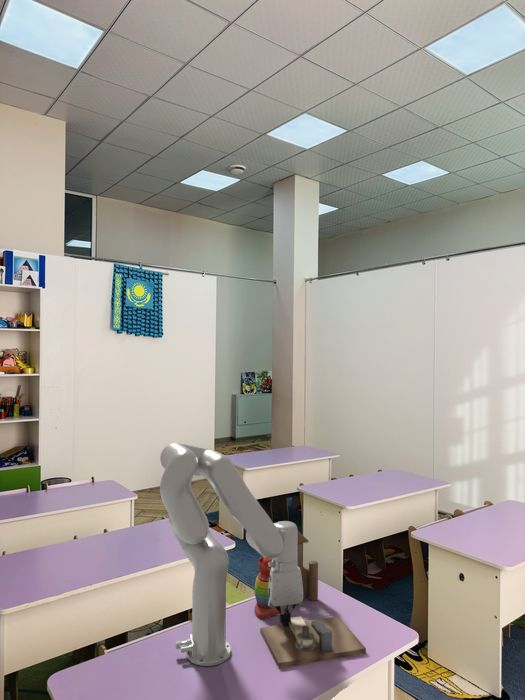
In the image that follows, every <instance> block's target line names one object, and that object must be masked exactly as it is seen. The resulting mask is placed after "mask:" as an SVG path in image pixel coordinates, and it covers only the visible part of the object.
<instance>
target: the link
mask: <svg viewBox="0 0 525 700" xmlns="http://www.w3.org/2000/svg"><path fill="white" fill-rule="evenodd" d="M304 621H305V620H304V619H303V617H302V616H301V615H300V616H293V617H292V616H291V622H289V626H290V628H291V630H292V632H293V634H294V636H295V638H296V640H297V645H298V646H299V647H301V648H311V647H314V635H313V634H312V633H310V631H309V627H308V626H306V624H305V622H304Z"/></svg>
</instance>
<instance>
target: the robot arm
mask: <svg viewBox="0 0 525 700" xmlns="http://www.w3.org/2000/svg"><path fill="white" fill-rule="evenodd" d="M159 461H160V464H161V466H162V468H163V469H164V472H163V474H162V476H161V479H160V485H159V495H160V498H161V500H162V503H163V506H164V508H165V510H166V512H167V514H168V524H169V527H170V529H171V531H172V533H173V534H174V537H175V538H176V540H177V542H178V544H179V546H180V547H181V549H182V552H183V553H184V555H185V556H186V558H187V559H188V561H189V562H190V563H191V565H192V566H193V570H194V576H193V581H192V589H191V590H192V593H191V596H192V597H191V598H192V604H191V609H192V612H191V613H192V615H191V616H192V617H191V619H192V620H191V621H192V622H191V631H192V632H191V634H189V638H186V639H185V640H178V641H175V642H174V643H175V644H174V647H175V650H180V653H186V658H187V660H188V661H189V662H191V664H194V665H196V666H201V667H213V666H216V665H221V664H222V663H224V662H226V661H227V660H228V659H229V658H230V657H231V654H232V647H231V645H230V643H229V642H228V641H227V640H226V639H227V636H226V635H227V634H226V633H227V631H226V630H227V629H226V628H227V626H226V625H227V623H226V622H227V614H226V613H227V596H226V595H227V579H228V570H229V555H228V552H227V550H226V548H225V547H224V546H223V545H222V543H220V542H219V540H217V539H216V538H215V537H214V536H213V535H212V532H210V525H209V520H208V517H207V515H206V514H205V512H204V511H203V509H202V507H201V505H200V504H199V501H198V500H197V498H196V495H195V494H194V491H193V489H192V480H193V478H194V476H195V477H196V476H197V477H203V478H205V479H206V480H207V481H208V483H209V484H210V486H211V487H212V489H213V490H214V492H215V493H216V495H217V496H218V499H220V501H221V503H222V505H223V506H224V507H225V510H227V512H228V513H229V514H230V515H231V516H232V517H233V518H234V519H235V520H236V522H237V523H239V525H241V527H243V529H244V530H245V531H246V532H245V538H246V539H245V540H246V541H247V543H248V545H250V547H251V548H252V549H254V551H257V553H258V554H260V555H261V556H262V557H265V558H268V559H272V561H271V562H268V565H269V567H272V568H271V571H270V576H269V585H268V598H269V602H268V606H269V608H276V609H277V610H278V611H279V612H280V615H279V622H280V624H281V625H283V626H284V627H286V626H287V627H289V622H291V617H292V615H291V614H292V613H293V610H294V609H295V607H296V606H298V605H301V604H302V603H303V601H304V598H303V584H302V576H301V570H300V568H299V567H298V566H297V530H298V526H297V524H296V523H294V522H292V521H289V520H282V521H277V522H273V520H272V519H271V517H270V516H269V514H268V513H267V512H266V511H265V509H264V508H263V507H262V506H261V504H260V502H259V501H258V500H257V498H256V497H255V496H254V495H253V494H252V491H251V490H250V489H249V488H248V485H247V484H246V483H245V481H244V479H243V477H242V476H241V475H240V473H239V471H238V469H237V468H236V467H235V465H234V463H233V461H232V460H231V459H230V458H229V457H228V456H226V454H223V453H221V452H219V451H217V450H213V449H208V448H203V447H199V446H193V445H188V444H185V443H179V442H173V443H170V444H168V445H166V446H165V447H164V448H163V449H162V451H161V452H160V459H159ZM284 605H286V608H285V609H284Z"/></svg>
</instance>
